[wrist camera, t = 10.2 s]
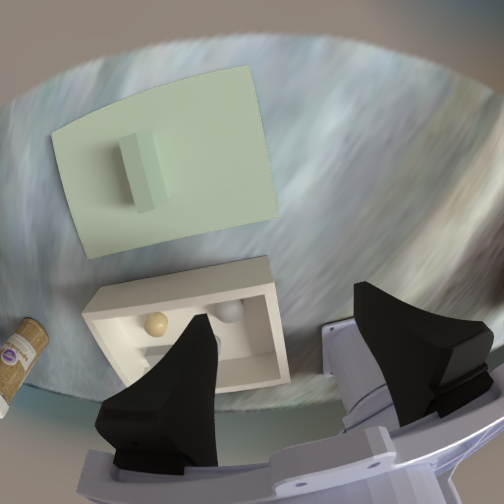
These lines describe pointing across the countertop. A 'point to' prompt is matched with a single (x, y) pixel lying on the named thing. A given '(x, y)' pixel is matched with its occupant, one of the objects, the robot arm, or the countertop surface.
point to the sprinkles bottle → (19, 359)
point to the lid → (167, 164)
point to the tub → (180, 314)
